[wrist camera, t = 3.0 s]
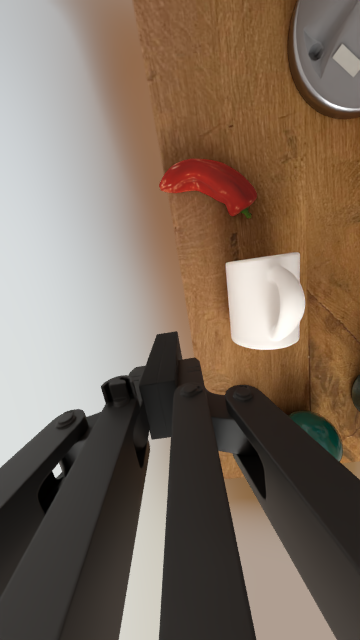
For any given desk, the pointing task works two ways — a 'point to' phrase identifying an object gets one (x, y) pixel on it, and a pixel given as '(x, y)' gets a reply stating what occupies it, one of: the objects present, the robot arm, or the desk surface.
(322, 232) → the desk surface
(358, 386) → the mug
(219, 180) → the vegetable
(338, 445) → the sphere
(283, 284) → the mug
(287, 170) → the desk surface
